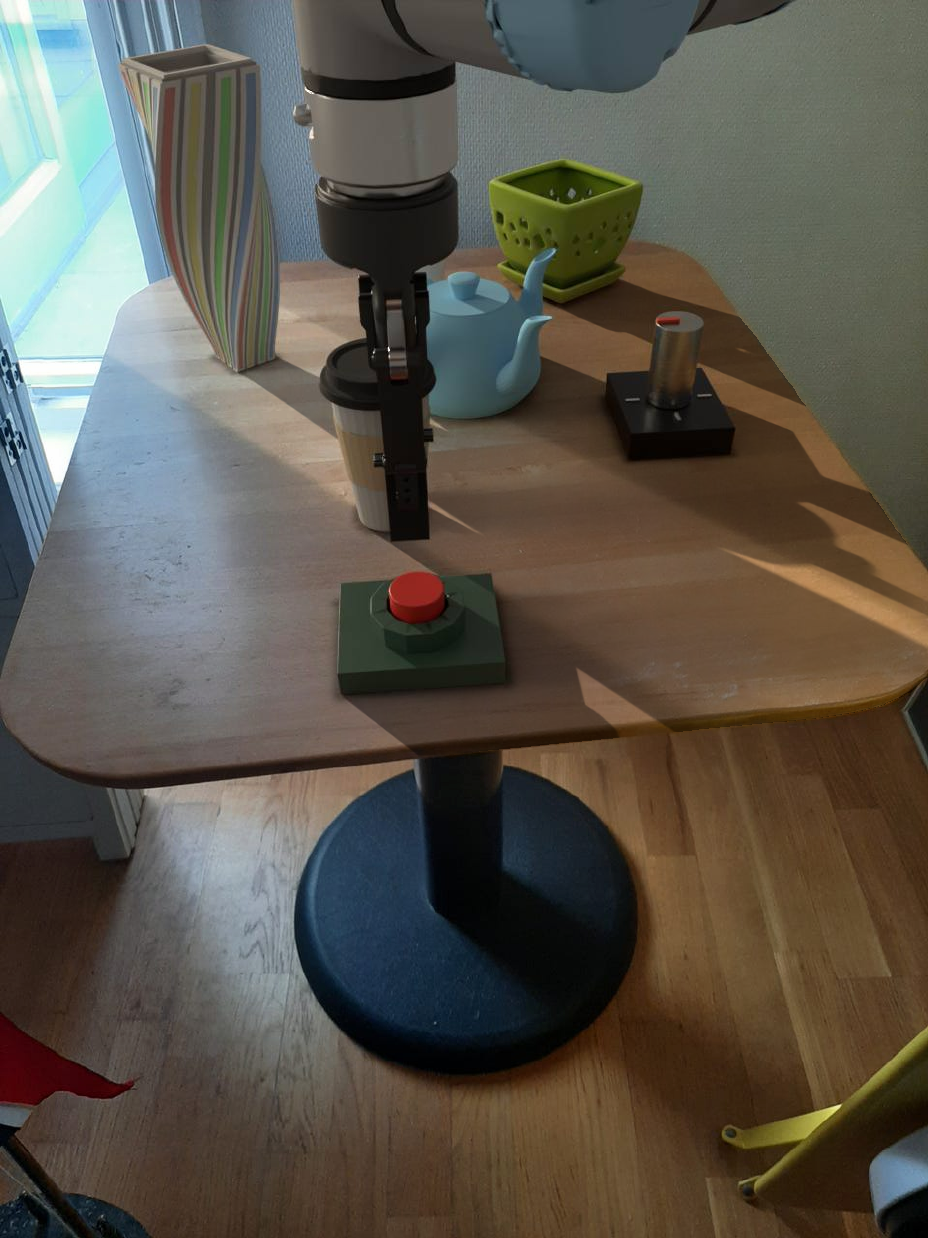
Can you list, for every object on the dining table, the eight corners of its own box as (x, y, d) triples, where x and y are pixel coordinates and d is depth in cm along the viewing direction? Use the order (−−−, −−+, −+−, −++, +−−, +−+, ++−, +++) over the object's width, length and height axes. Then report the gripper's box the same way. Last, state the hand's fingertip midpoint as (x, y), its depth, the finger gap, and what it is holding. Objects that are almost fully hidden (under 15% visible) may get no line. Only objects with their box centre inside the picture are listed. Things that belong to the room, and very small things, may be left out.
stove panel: (730, 454, 89) (736, 425, 87) (628, 460, 89) (631, 432, 86) (697, 393, 98) (702, 365, 96) (604, 398, 97) (606, 371, 95)
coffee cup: (457, 529, 81) (452, 372, 71) (354, 555, 79) (334, 397, 68) (421, 474, 88) (412, 323, 77) (325, 496, 85) (302, 344, 75)
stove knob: (684, 385, 93) (696, 306, 87) (696, 408, 90) (709, 326, 84) (641, 388, 93) (651, 309, 87) (651, 410, 89) (662, 329, 84)
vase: (221, 399, 99) (150, 84, 79) (165, 355, 107) (88, 58, 86) (327, 359, 105) (287, 58, 85) (267, 321, 113) (217, 36, 93)
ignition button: (446, 622, 67) (445, 604, 66) (391, 626, 67) (389, 608, 66) (442, 587, 70) (442, 569, 69) (390, 590, 70) (388, 572, 68)
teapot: (553, 432, 93) (559, 315, 84) (369, 431, 94) (357, 315, 85) (550, 352, 105) (555, 244, 97) (388, 352, 106) (379, 244, 98)
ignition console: (505, 683, 67) (505, 643, 65) (340, 695, 67) (334, 655, 64) (491, 593, 75) (491, 554, 72) (343, 603, 74) (337, 565, 71)
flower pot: (560, 316, 112) (566, 208, 104) (484, 282, 120) (483, 179, 111) (637, 283, 119) (648, 179, 110) (560, 253, 127) (565, 154, 118)
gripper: (317, 138, 52) (356, 483, 69) (306, 222, 43) (355, 599, 59) (449, 133, 53) (457, 477, 69) (467, 215, 43) (471, 592, 59)
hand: (410, 533), depth 64 cm, fingers closed
